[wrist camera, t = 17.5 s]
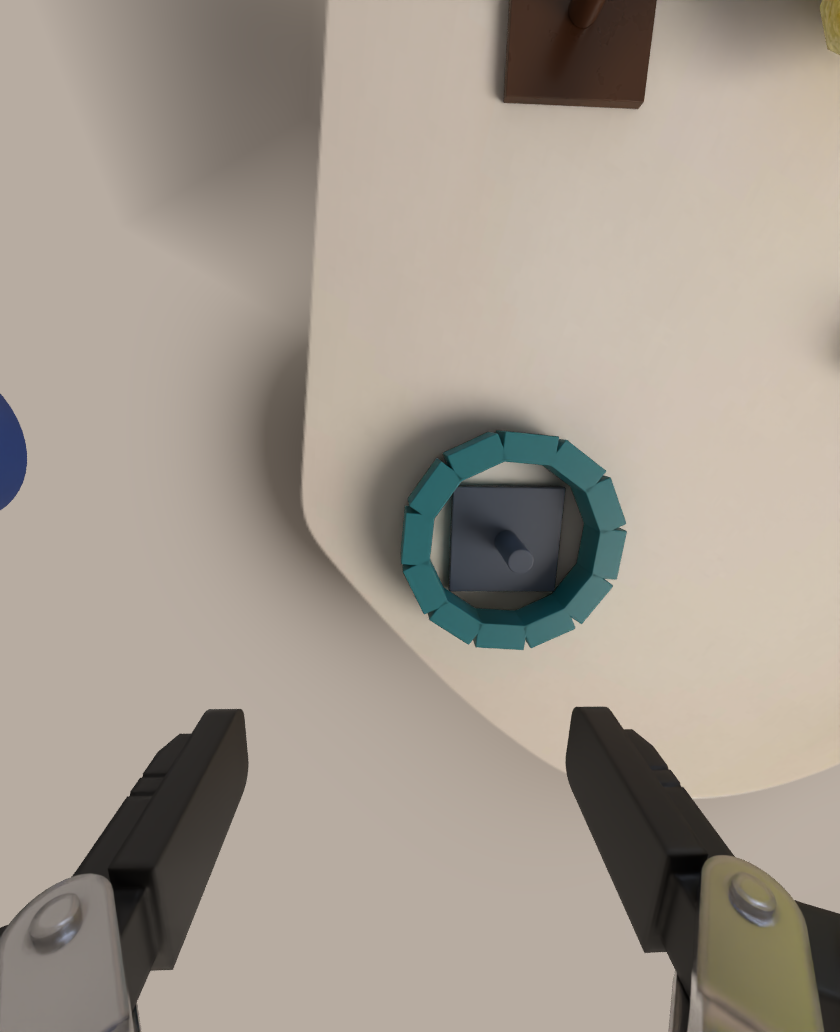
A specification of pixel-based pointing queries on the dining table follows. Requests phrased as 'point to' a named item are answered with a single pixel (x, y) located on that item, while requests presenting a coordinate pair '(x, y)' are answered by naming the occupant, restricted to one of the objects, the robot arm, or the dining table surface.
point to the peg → (505, 537)
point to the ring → (577, 587)
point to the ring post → (578, 52)
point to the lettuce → (831, 23)
